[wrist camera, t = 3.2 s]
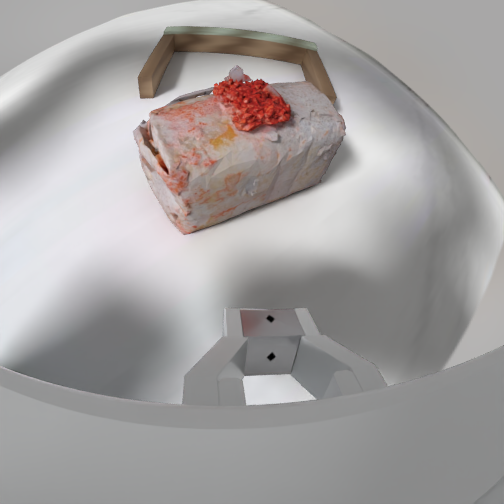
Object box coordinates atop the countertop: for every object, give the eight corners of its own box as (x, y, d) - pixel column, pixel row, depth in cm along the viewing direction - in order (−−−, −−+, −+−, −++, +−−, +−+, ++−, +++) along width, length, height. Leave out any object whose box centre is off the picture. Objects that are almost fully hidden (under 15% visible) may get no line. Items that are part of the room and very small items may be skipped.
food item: (175, 255, 19) (157, 169, 10) (141, 175, 21) (120, 78, 12) (322, 193, 24) (377, 114, 15) (276, 131, 26) (305, 50, 17)
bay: (140, 98, 25) (137, 73, 21) (166, 46, 30) (167, 26, 27) (327, 116, 28) (338, 94, 25) (308, 60, 33) (315, 43, 30)
